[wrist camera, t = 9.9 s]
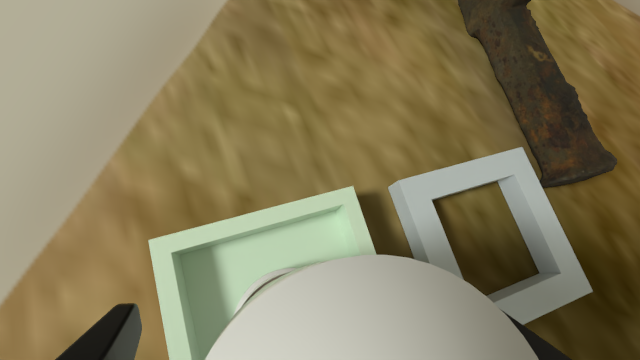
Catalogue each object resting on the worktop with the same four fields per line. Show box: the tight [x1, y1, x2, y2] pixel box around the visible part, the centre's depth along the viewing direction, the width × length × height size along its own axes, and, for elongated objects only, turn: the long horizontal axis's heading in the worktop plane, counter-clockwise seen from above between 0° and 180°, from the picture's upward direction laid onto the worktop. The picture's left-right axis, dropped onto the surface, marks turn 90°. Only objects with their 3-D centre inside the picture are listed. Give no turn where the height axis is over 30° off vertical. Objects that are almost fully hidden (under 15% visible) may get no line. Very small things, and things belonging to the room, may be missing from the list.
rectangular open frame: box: [388, 147, 593, 325], centre depth 19 cm, size 10×10×2 cm
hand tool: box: [458, 0, 617, 187], centre depth 22 cm, size 19×4×5 cm, turn 15°
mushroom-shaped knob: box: [205, 255, 539, 360], centre depth 9 cm, size 5×5×12 cm
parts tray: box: [148, 186, 376, 360], centre depth 15 cm, size 11×10×2 cm
